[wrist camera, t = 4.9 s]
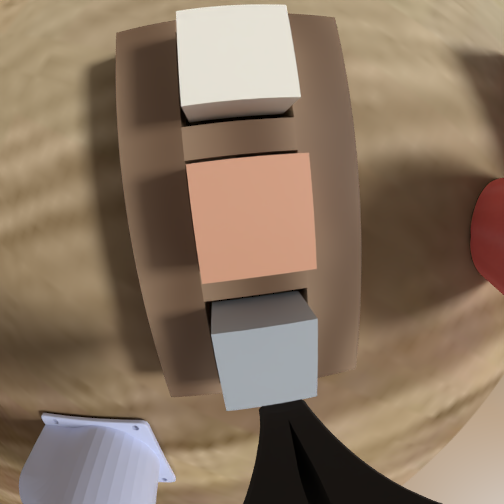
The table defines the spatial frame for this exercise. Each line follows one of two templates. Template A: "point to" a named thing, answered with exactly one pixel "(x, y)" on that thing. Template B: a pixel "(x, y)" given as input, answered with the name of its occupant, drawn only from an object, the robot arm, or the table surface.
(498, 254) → the flower pot
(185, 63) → the ivory key
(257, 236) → the terracotta key
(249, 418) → the table surface
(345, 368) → the key frame
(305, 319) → the slate key
